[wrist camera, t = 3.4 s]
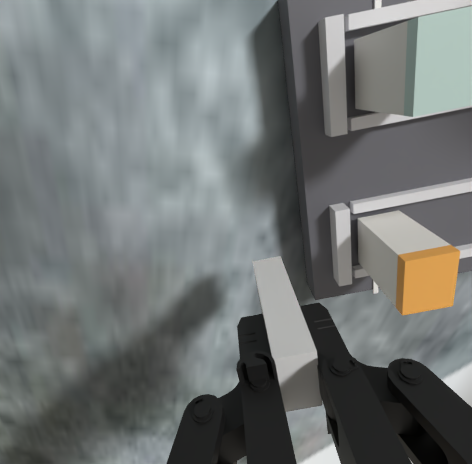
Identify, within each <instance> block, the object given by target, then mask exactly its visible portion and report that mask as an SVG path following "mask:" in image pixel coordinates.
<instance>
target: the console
mask: <svg viewBox="0 0 472 464" xmlns="http://www.w3.org/2000/svg"><path fill="white" fill-rule="evenodd" d="M278 6H279V15H280V25H281V35H282V44H283V54H284V63H285V73H286V83H287V92H288V102H289V112H290V121H291V131H292V140H293V150H294V160H295V169H296V179H297V188H298V198H299V208H300V217H301V227H302V237H303V246H304V256H305V265H306V275H307V283H308V285H309V288H310V290H311V292H312V294H313V296H314V298H315V300H318V299H323V298H329V297H334V296H339V295H345V294H350V293H355V292H361V291H366V290H371V289H373V294H375V293H378V288H379V287H378V285H377V284H376V283H375V282H374V280H373V279H372V278H371V277H370V276H369V274H368V273H367V272H366V271H365V270H364V268H363V267H362V266H361V265H360V264H359V262H358V218H361V217H367V216H372V215H377V214H382V213H387V212H393V211H398V210H399V211H401V212H402V213H404V214H405V215H407V216H408V217H410V218H411V219H413V220H414V221H416V222H417V223H419V224H420V225H422V226H423V227H425V228H426V229H428V230H429V231H431V232H432V233H434V234H435V235H437V236H438V237H440V238H441V239H443V240H444V241H446V242H447V243H449V244H450V245H452V246H453V247H455V248H457V249H458V250H460V258H459V265H458V272H457V273H462V272H468V271H472V105H471V106H466V107H461V108H456V109H451V110H446V111H441V112H436V113H431V114H426V115H421V116H416V117H409V116H402V115H395V114H388V113H381V112H374V111H367V110H360V109H355V64H354V40H355V39H358V38H360V37H363V36H366V35H369V34H372V33H374V32H377V31H380V30H383V29H386V28H389V27H391V26H394V25H397V24H400V23H403V22H406V21H408V20H411V19H414V18H417V17H421V16H426V15H430V14H435V13H440V12H445V11H450V10H455V9H460V8H464V7H469V6H472V0H278Z"/></svg>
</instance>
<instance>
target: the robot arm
mask: <svg viewBox="0 0 472 464" xmlns="http://www.w3.org/2000/svg"><path fill="white" fill-rule="evenodd" d="M252 262H253V267H254V273H255V278H256V283H257V289H258V294H259V299H260V305H261V310H262V314H259V315H254V316H248V317H243V318H241V319H240V322H239V324H238V326H237V328H238V340H239V351H240V360H239V362H238V363H237V369H236V370H237V373H238V377H239V381H240V382H239V383H238V385H237V386H236V387H235V388H234V389H233V390H232V391H231V392H229V393H228V394H226V395H224V396H222V397H220V398H217V397H216V396H213V395H209V394H206V395H200V396H198V397H196V398H195V399H193V400H192V401H191V402H190V403H189V404H188V405H187V407H186V409H185V411H184V414H183V417H182V420H181V423H180V426H179V429H178V432H177V435H176V437H175V440H174V443H173V446H172V449H171V452H170V455H169V458H168V461H167V464H237V460H239V459H241V458H242V457H244V456H246V455H247V464H296V459H295V454H294V450H293V445H292V441H291V436H290V431H289V427H288V422H287V417H286V413H285V412H287V411H293V410H298V409H304V408H310V407H315V406H321V405H322V401H323V404H324V407H325V410H326V419H327V429H328V434H331V435H332V438H333V441H334V444H335V447H336V450H337V453H338V456H339V459H340V462H341V464H412V463H411V461H412V462H413V464H472V407H471V406H470V405H468V404H467V403H466V402H465V401H464V400H463V399H462V398H461V397H459V396H458V395H457V394H456V393H455V392H454V391H453V390H452V389H451V388H449V387H448V386H447V385H446V384H445V383H444V382H443V381H442V380H441V379H439V378H438V377H437V376H436V375H435V374H434V373H433V372H432V371H430V370H429V369H428V368H427V367H426V366H424V365H423V364H421V363H420V362H417V361H415V360H412V359H404V358H402V359H397V360H394V361H393V362H391V363H390V364H389V366H388V368H381V367H372V366H367V365H364V364H362V363H360V362H358V361H357V360H356V359H355V358H353V357H352V356H351V355H350V353H349V352H348V350H347V348H346V346H345V344H344V342H343V340H342V338H341V336H340V334H339V332H338V330H337V328H336V327H335V324H334V322H333V320H332V318H331V316H330V314H329V312H328V310H327V309H326V308H325V307H324V306H322V305H321V304H320V303H314V304H309V305H304V306H299V303H298V301H297V298H296V295H295V293H294V290H293V288H292V285H291V282H290V280H289V277H288V274H287V272H286V269H285V267H284V264H283V261H282V259H281V256H279V257H273V258H268V259H263V260H257V261H252ZM408 457H409V458H408ZM409 459H410V460H411V461H410V460H409Z"/></svg>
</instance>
